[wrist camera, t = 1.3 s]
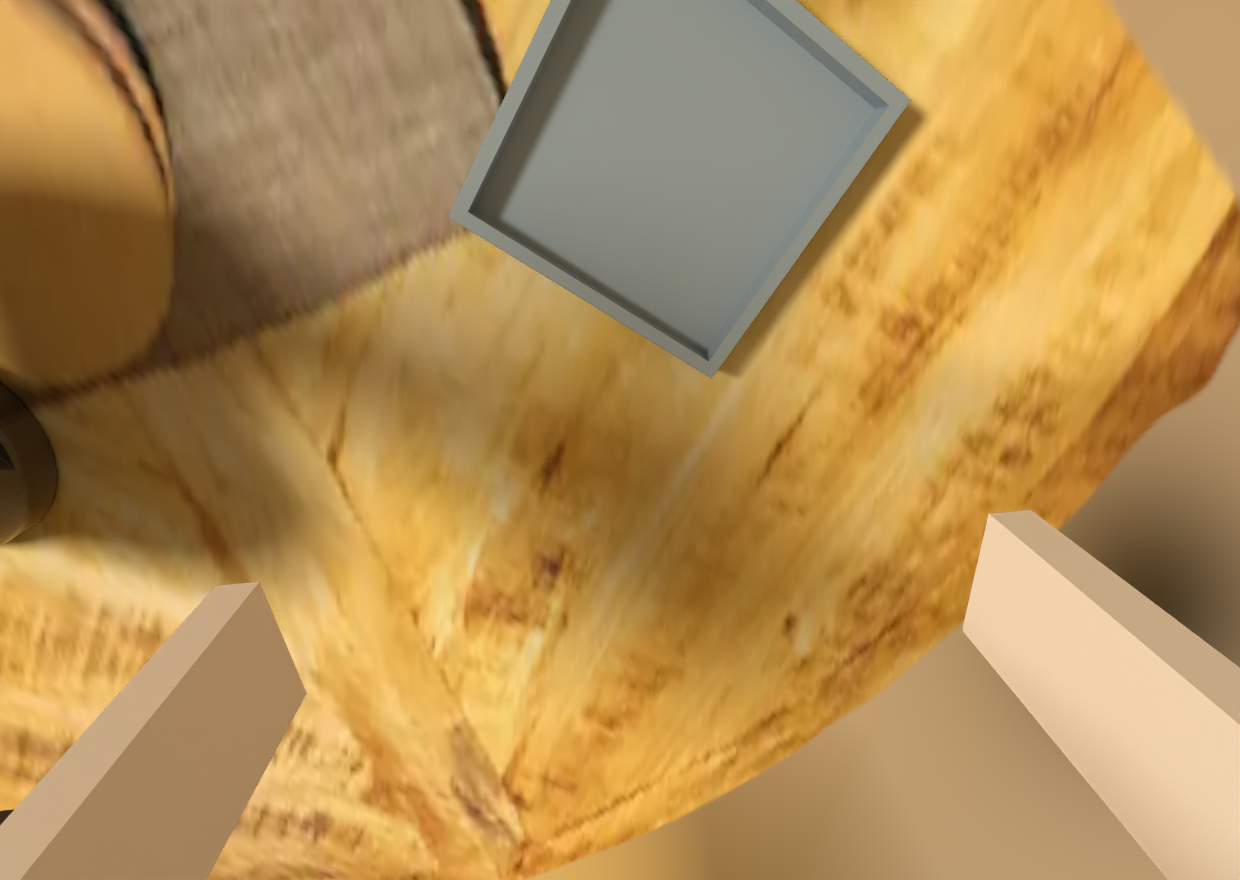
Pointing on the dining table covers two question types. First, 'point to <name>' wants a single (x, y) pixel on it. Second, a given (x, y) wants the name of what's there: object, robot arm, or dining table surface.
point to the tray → (675, 158)
